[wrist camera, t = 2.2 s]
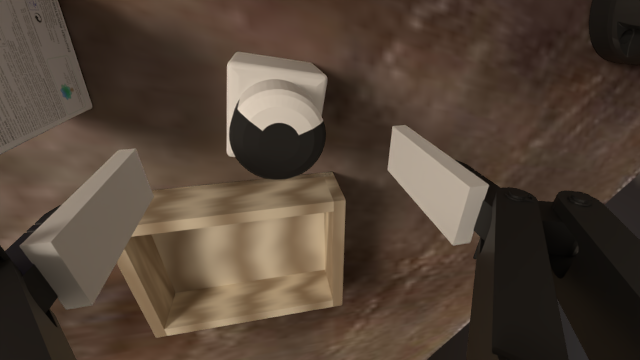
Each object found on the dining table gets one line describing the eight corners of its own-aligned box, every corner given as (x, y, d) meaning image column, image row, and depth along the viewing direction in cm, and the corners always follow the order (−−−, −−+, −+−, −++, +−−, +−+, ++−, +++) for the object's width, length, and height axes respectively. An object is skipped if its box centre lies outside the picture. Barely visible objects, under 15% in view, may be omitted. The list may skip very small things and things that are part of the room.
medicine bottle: (303, 134, 30) (326, 194, 20) (233, 127, 28) (218, 190, 18) (313, 62, 27) (347, 90, 16) (234, 50, 25) (216, 73, 15)
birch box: (332, 171, 33) (345, 200, 28) (331, 269, 41) (342, 304, 36) (127, 192, 30) (99, 229, 24) (170, 294, 38) (156, 337, 32)
